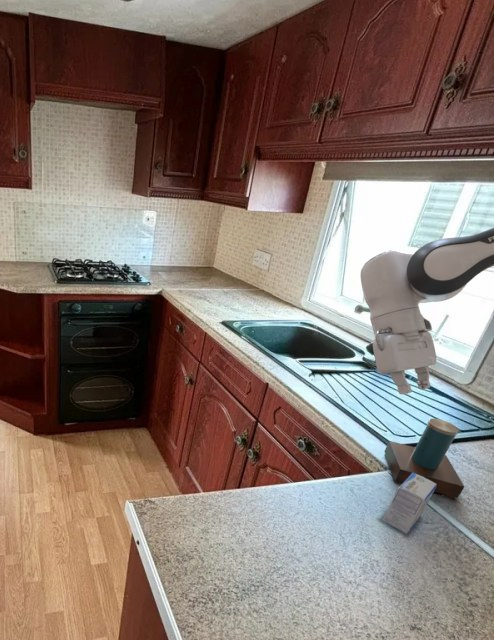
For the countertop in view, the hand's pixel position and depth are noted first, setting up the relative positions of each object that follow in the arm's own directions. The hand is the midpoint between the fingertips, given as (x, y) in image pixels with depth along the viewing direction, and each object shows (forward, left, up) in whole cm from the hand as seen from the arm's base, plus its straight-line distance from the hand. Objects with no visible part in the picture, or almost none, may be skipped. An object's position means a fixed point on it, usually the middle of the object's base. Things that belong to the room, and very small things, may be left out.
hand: (415, 391), depth 84 cm
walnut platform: (-9, -3, -21) cm, 23 cm away
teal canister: (-9, -3, -17) cm, 20 cm away
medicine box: (-2, +15, -21) cm, 26 cm away
